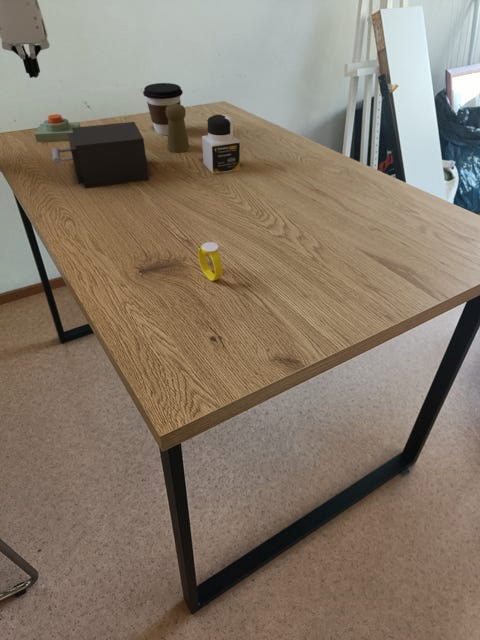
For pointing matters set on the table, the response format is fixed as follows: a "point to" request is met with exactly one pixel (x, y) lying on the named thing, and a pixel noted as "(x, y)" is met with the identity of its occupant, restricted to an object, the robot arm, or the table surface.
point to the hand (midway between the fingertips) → (34, 76)
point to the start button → (55, 119)
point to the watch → (212, 250)
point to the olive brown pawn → (176, 128)
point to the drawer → (58, 160)
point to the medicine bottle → (221, 145)
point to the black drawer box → (111, 154)
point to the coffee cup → (161, 103)
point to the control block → (55, 131)
